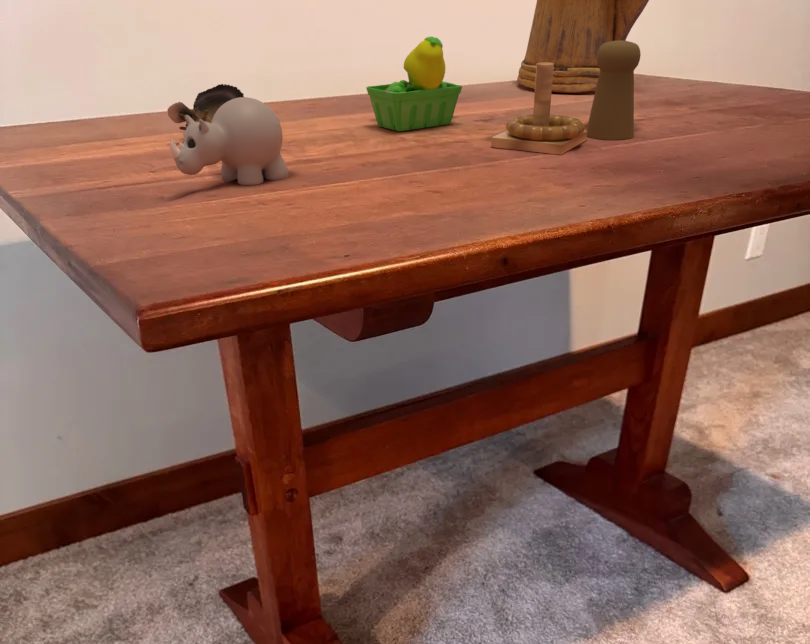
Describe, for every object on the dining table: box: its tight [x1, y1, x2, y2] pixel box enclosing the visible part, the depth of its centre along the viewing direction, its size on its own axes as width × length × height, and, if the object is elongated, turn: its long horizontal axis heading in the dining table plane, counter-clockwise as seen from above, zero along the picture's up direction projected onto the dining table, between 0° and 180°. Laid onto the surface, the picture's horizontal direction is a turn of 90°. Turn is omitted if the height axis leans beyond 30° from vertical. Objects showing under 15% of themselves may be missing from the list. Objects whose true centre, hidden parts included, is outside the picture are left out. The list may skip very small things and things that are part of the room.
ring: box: [505, 114, 586, 141], centre depth 97 cm, size 9×9×2 cm
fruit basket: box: [365, 36, 463, 132], centre depth 106 cm, size 11×9×11 cm
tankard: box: [516, 0, 650, 94], centre depth 130 cm, size 18×24×25 cm
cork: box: [585, 40, 642, 141], centre depth 100 cm, size 6×6×11 cm
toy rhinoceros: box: [169, 96, 290, 186], centre depth 80 cm, size 7×12×8 cm, turn 129°
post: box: [490, 62, 588, 156], centre depth 96 cm, size 9×9×9 cm
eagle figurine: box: [166, 83, 245, 132], centre depth 101 cm, size 8×7×9 cm
